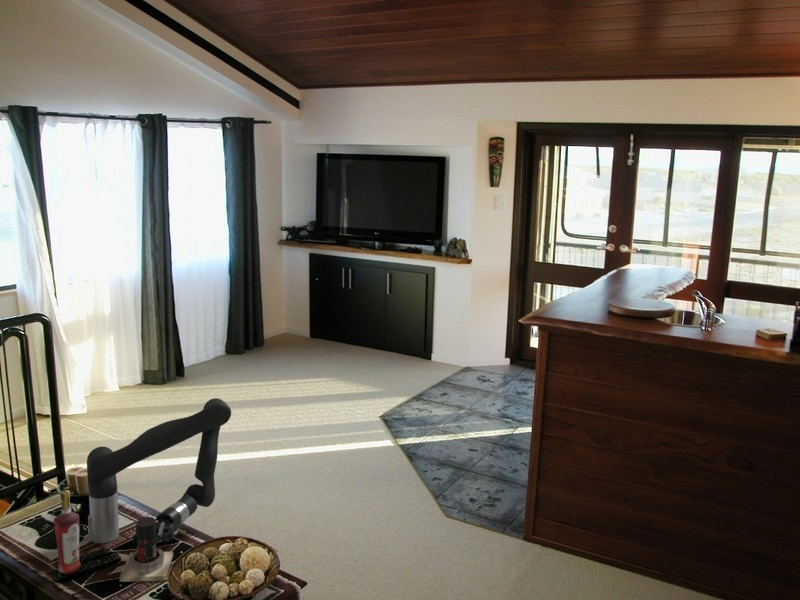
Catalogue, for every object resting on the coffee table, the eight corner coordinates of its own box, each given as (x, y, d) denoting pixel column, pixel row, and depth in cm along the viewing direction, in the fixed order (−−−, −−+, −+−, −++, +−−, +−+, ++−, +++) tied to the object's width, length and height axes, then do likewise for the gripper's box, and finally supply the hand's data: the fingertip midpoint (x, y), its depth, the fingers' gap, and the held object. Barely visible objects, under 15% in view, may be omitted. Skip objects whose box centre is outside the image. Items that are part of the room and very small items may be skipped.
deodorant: (140, 557, 234) (139, 517, 230) (158, 557, 234) (157, 516, 231) (135, 567, 228) (133, 526, 224) (154, 567, 228) (152, 526, 225)
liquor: (72, 561, 233) (68, 484, 227) (86, 568, 229) (82, 491, 224) (52, 571, 227) (47, 493, 221) (66, 579, 223) (61, 500, 217)
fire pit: (119, 581, 224) (119, 569, 223) (130, 556, 237) (130, 544, 236) (164, 580, 225) (164, 567, 224) (173, 555, 239) (172, 543, 238)
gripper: (155, 503, 243) (122, 527, 228) (190, 511, 239) (159, 536, 224) (156, 522, 245) (123, 547, 229) (191, 530, 241) (160, 557, 225)
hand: (141, 541), depth 227 cm, fingers closed on deodorant, 6 cm apart
